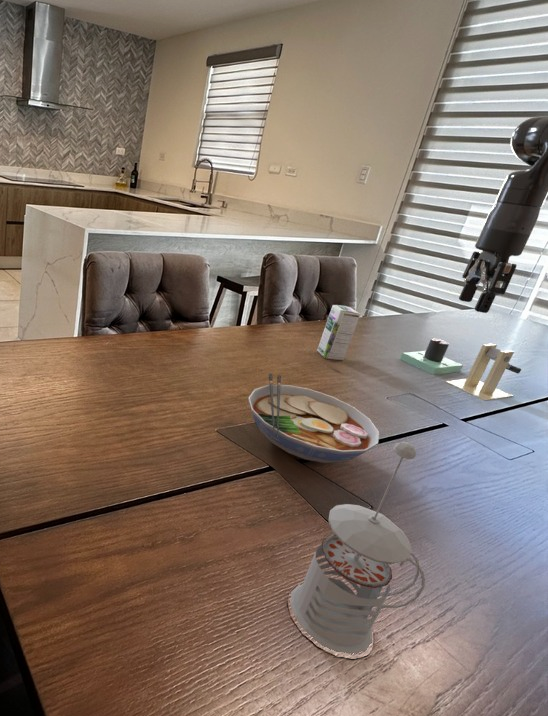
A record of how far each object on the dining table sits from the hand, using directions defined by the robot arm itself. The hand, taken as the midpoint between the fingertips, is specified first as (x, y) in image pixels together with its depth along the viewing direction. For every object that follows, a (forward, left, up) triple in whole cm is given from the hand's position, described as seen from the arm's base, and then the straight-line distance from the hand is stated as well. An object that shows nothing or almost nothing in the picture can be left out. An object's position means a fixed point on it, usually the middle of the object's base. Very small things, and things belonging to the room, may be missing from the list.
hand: (472, 306), depth 99 cm
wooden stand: (-28, -5, -26) cm, 39 cm away
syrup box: (-3, -31, -26) cm, 41 cm away
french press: (+65, +34, -26) cm, 78 cm away
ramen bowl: (+42, +4, -26) cm, 49 cm away
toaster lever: (-32, -5, -18) cm, 37 cm away
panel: (-29, -19, -26) cm, 44 cm away
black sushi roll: (-29, -19, -23) cm, 42 cm away
